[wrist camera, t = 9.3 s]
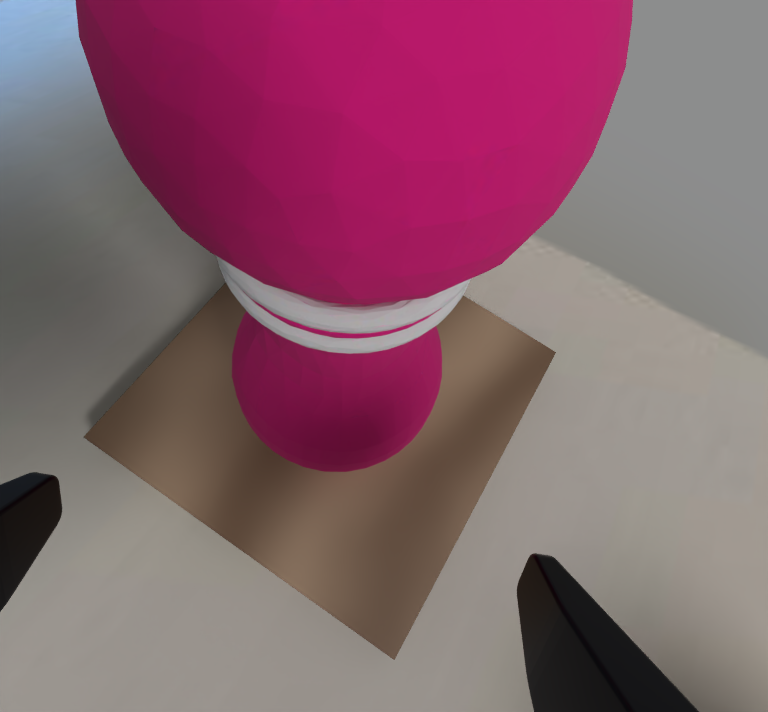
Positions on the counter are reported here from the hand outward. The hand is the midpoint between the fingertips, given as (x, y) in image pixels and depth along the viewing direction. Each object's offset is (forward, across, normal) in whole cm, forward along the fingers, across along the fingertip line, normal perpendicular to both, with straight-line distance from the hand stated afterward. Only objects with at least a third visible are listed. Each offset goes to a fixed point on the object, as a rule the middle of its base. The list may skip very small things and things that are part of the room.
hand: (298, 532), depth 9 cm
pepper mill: (+11, 0, +4) cm, 12 cm away
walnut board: (+12, 0, +4) cm, 13 cm away
